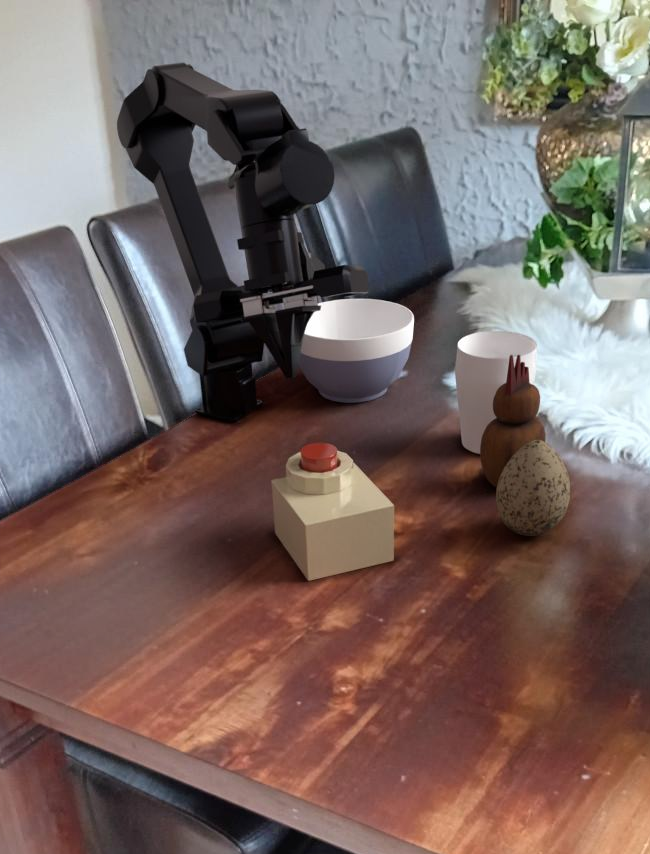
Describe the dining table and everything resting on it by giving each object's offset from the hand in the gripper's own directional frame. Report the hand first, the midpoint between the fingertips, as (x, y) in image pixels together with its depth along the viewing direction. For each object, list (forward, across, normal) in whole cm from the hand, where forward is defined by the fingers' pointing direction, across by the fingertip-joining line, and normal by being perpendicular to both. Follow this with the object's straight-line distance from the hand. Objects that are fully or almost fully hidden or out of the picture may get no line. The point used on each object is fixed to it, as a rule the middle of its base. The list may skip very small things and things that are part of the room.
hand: (291, 378), depth 109 cm
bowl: (+3, +4, -26) cm, 27 cm away
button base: (+17, -7, +10) cm, 21 cm away
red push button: (+9, -7, +10) cm, 15 cm away
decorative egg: (+19, -24, +1) cm, 31 cm away
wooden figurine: (+15, -20, -8) cm, 27 cm away
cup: (+11, -16, -17) cm, 26 cm away
